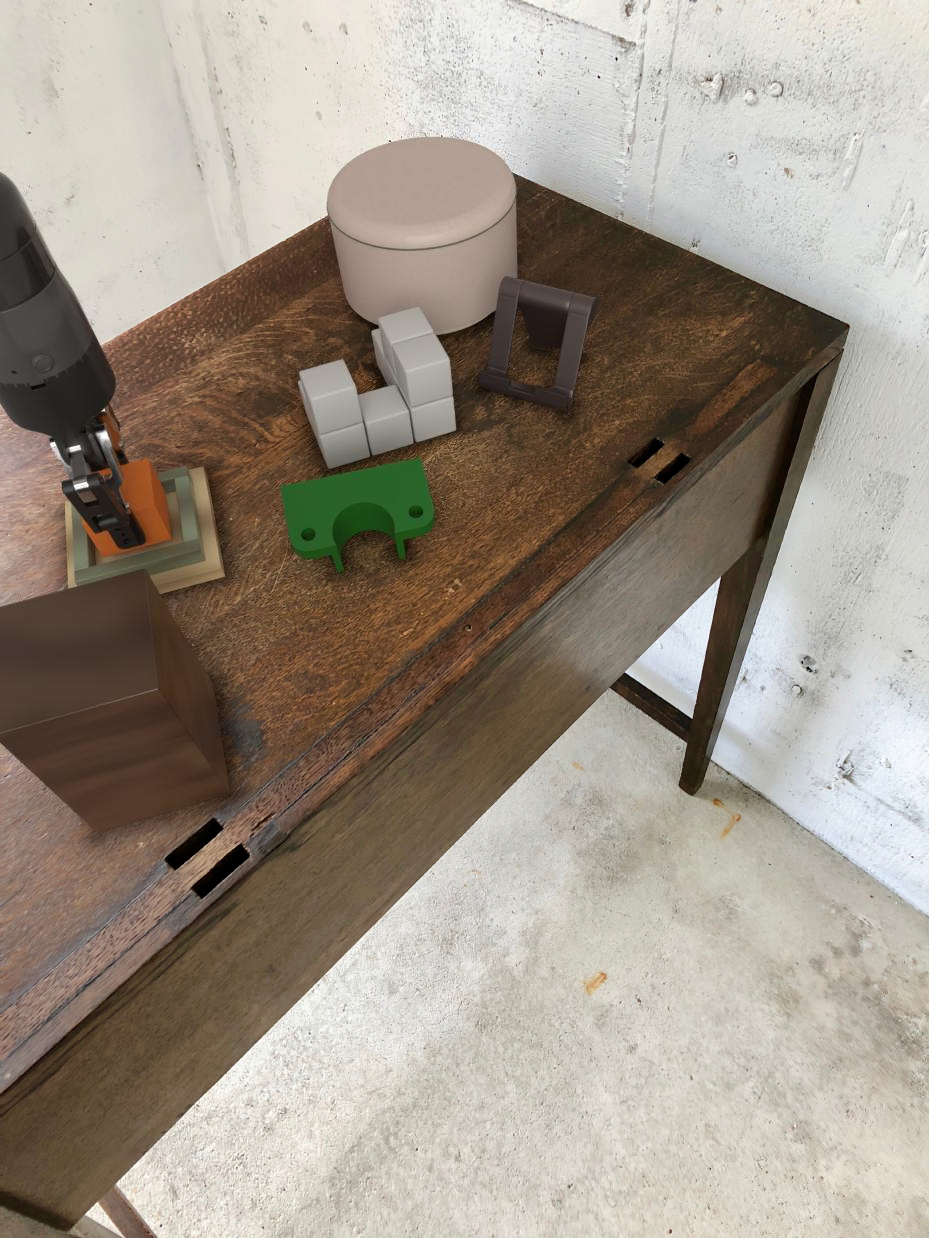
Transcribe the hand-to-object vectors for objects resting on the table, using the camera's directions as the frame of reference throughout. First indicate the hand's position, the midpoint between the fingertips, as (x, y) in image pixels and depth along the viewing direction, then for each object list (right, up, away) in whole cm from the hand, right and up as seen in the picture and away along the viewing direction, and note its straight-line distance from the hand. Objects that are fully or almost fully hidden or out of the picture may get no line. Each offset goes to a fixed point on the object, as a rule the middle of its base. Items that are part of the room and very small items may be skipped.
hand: (130, 516), depth 70 cm
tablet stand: (+34, +14, +12) cm, 38 cm away
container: (+24, +26, +21) cm, 40 cm away
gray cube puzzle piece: (+19, +11, +11) cm, 24 cm away
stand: (+5, -18, -9) cm, 21 cm away
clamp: (+19, -2, +1) cm, 19 cm away
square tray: (0, -2, +3) cm, 3 cm away
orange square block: (0, -1, +1) cm, 1 cm away
